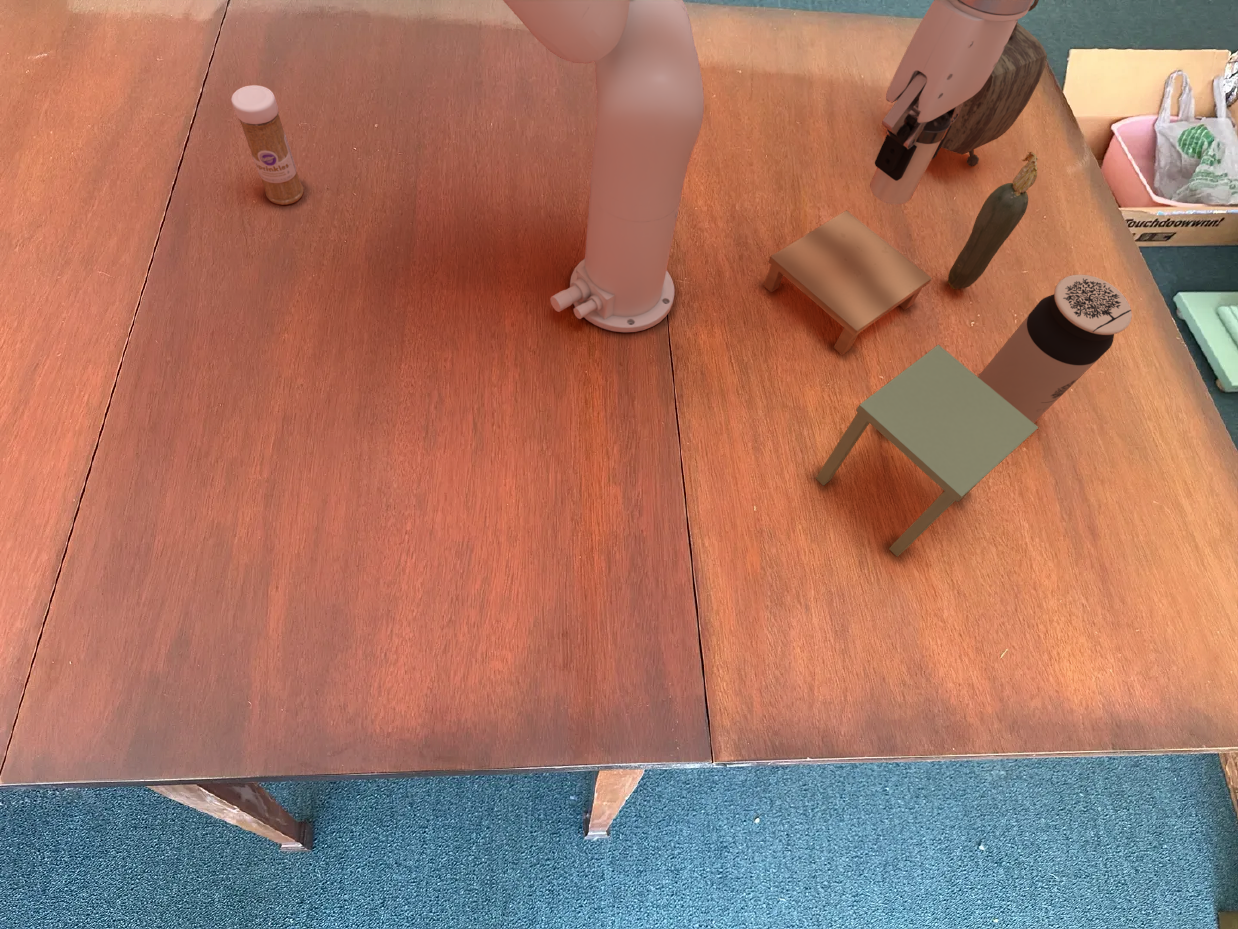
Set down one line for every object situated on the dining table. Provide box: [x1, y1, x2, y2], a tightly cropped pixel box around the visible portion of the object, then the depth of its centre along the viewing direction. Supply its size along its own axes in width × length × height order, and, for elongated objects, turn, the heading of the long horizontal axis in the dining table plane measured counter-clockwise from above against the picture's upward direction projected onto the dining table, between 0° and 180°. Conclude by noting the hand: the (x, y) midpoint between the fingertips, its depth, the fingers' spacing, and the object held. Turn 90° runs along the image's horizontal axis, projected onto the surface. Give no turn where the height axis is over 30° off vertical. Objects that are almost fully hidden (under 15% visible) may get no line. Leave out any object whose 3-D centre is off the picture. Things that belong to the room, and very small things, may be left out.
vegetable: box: [947, 151, 1039, 290], centre depth 91 cm, size 4×4×20 cm
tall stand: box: [815, 344, 1039, 558], centre depth 78 cm, size 12×12×14 cm
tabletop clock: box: [940, 0, 1048, 167], centre depth 103 cm, size 14×9×25 cm, turn 34°
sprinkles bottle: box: [230, 84, 305, 206], centre depth 91 cm, size 5×5×14 cm
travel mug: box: [977, 274, 1133, 424], centre depth 83 cm, size 8×8×18 cm
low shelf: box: [763, 209, 933, 356], centre depth 95 cm, size 14×14×5 cm
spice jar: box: [869, 103, 951, 206], centre depth 79 cm, size 5×5×9 cm
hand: (904, 160), depth 80 cm, fingers closed on spice jar, 4 cm apart
